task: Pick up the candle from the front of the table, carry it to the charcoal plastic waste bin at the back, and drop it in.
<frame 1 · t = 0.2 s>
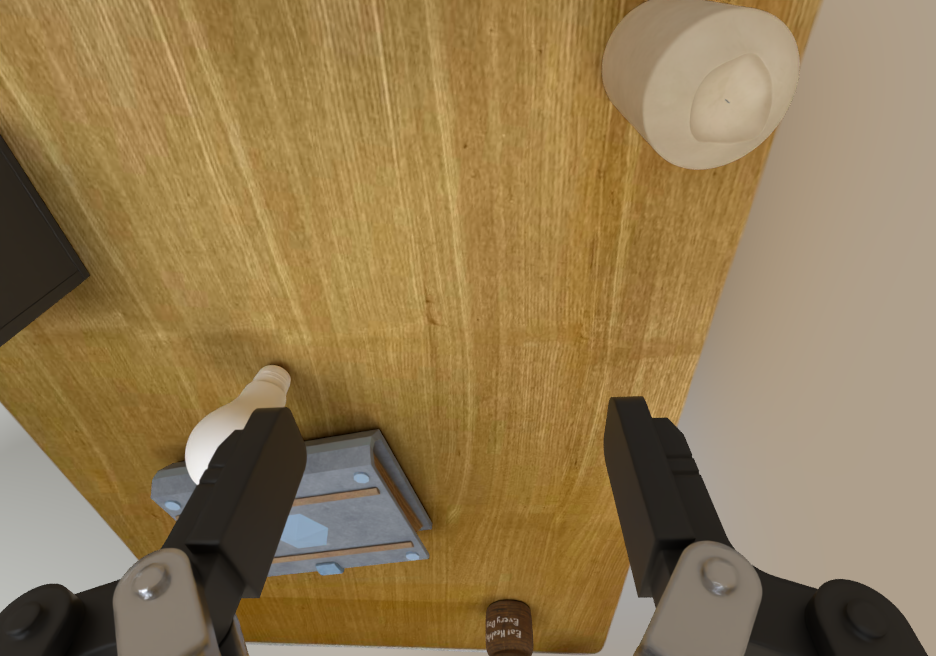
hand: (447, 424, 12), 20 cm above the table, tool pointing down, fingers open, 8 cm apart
candle: (653, 59, 25), on the table
utensil holder: (507, 607, 63), on the table
book: (309, 488, 48), on the table
lightbulb: (279, 368, 39), on the table
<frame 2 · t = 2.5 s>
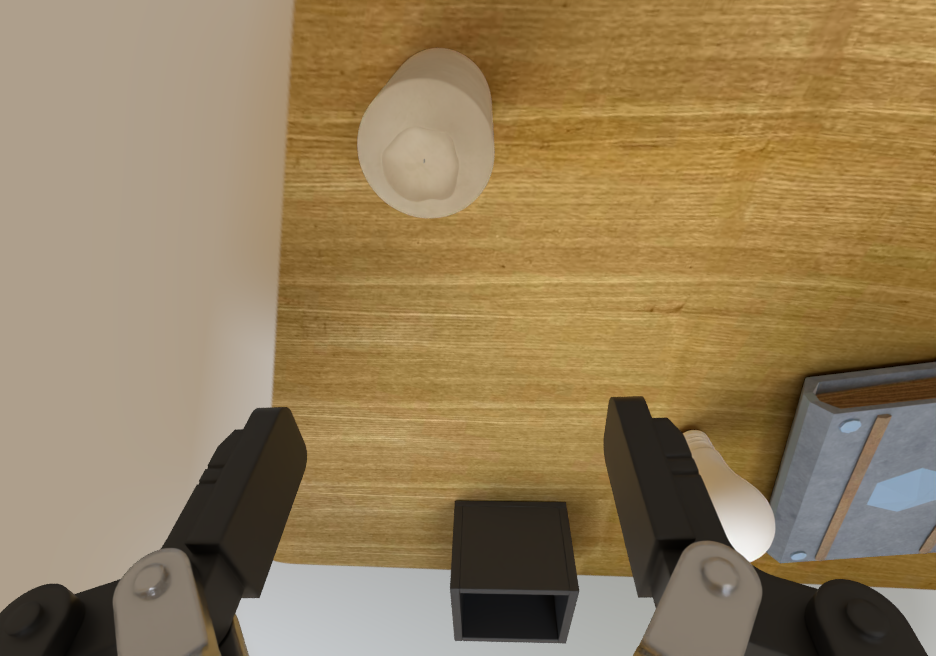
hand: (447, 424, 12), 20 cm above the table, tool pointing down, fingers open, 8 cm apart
candle: (441, 103, 26), on the table
bin: (508, 531, 52), on the table
book: (867, 448, 42), on the table
lightbulb: (688, 431, 42), on the table
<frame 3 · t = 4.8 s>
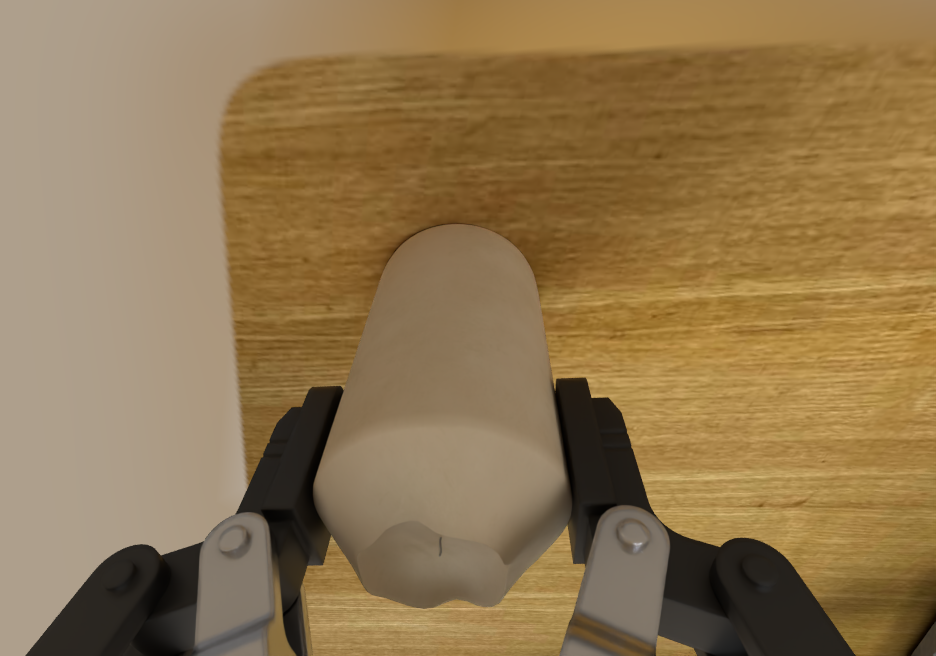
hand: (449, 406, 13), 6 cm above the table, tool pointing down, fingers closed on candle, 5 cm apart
candle: (459, 290, 17), on the table, touching gripper
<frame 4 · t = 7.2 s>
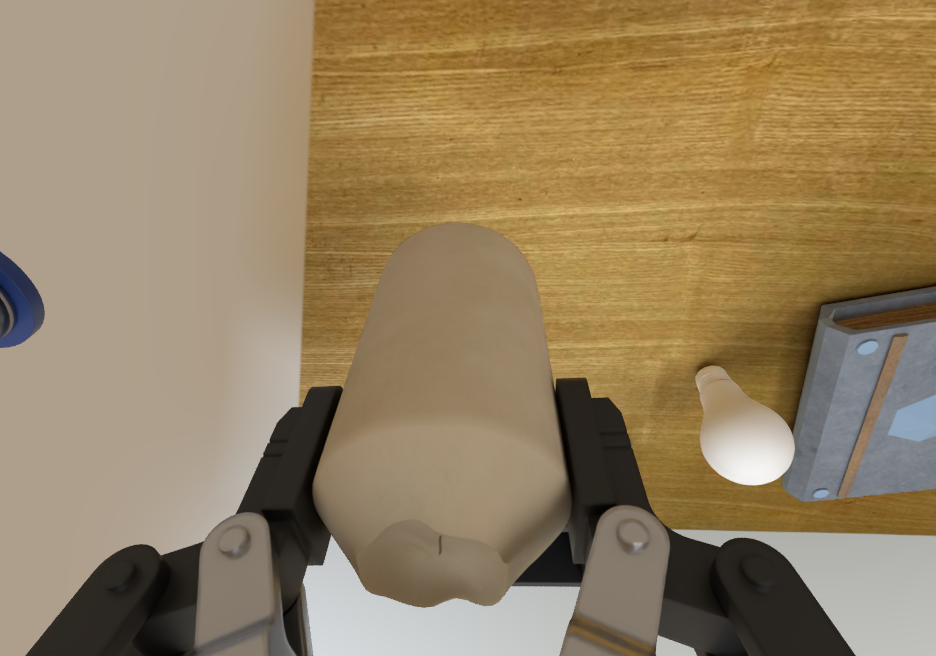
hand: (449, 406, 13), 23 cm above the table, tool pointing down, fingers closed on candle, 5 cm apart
candle: (458, 289, 17), point 17 cm above the table, touching gripper
bin: (531, 481, 53), on the table
book: (887, 381, 43), on the table
lightbulb: (706, 368, 42), on the table
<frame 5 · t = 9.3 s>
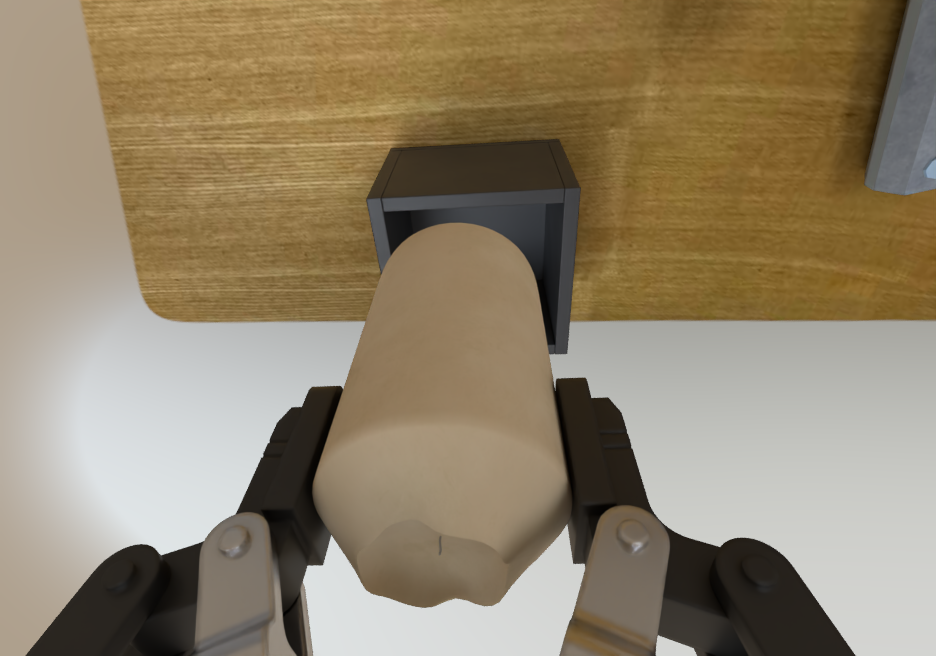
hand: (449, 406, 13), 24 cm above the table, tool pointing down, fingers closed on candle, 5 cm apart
candle: (459, 289, 17), point 18 cm above the table, touching gripper
bin: (478, 221, 35), on the table
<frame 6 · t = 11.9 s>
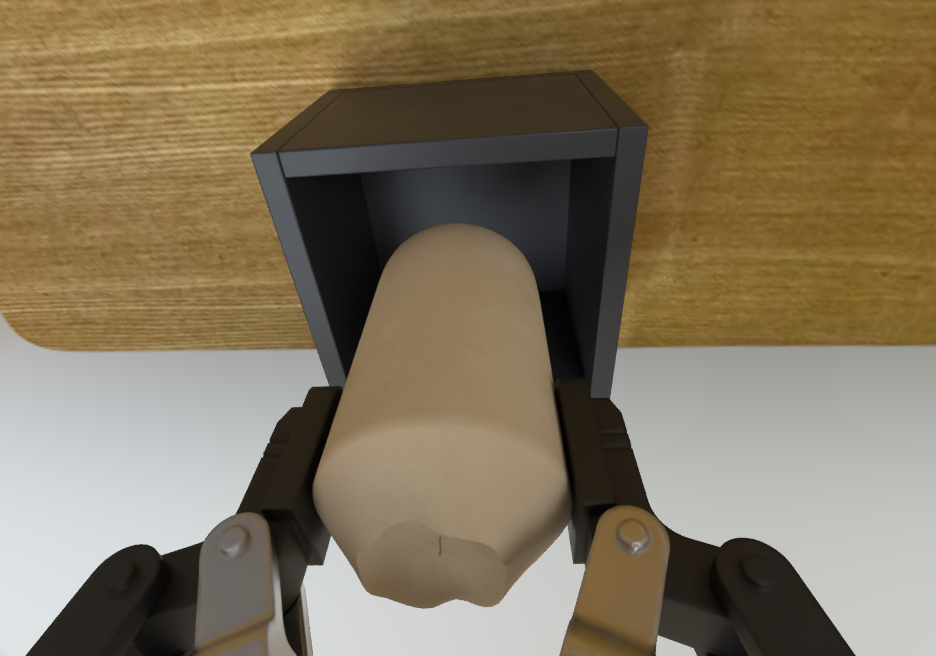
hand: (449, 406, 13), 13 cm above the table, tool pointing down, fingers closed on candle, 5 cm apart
candle: (459, 289, 17), point 8 cm above the table, touching gripper
bin: (467, 206, 23), on the table
when the fingers open (7 cm above the table, at t = 14.1 s): candle drops 1 cm, resting on bin.
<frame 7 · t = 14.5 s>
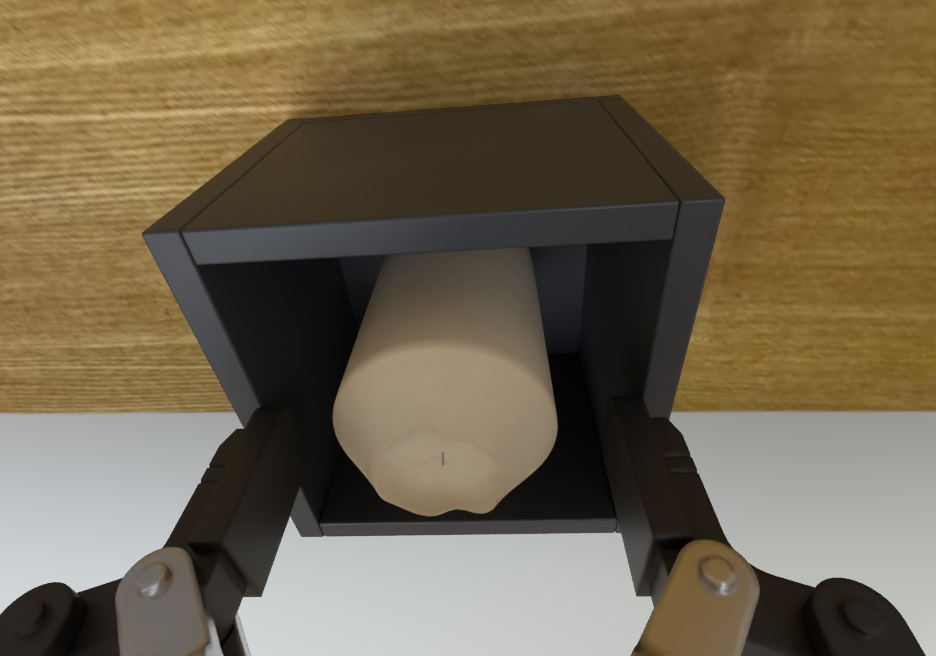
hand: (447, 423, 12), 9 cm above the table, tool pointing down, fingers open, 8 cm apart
candle: (459, 259, 19), resting on bin
bin: (462, 256, 19), on the table
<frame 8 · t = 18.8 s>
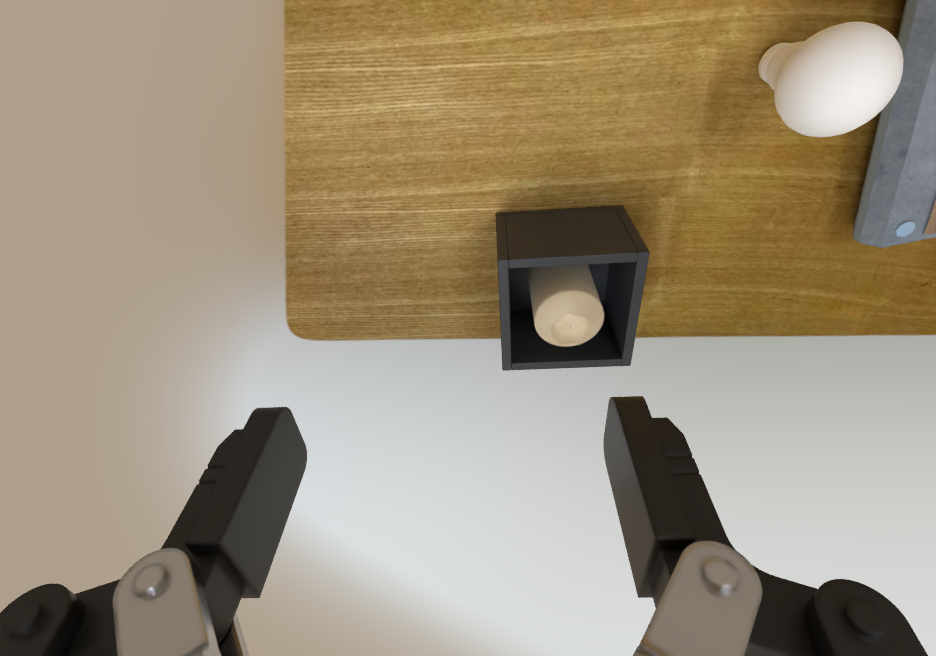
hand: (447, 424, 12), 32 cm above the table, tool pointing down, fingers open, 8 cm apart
candle: (556, 265, 45), resting on bin
bin: (556, 264, 46), on the table
lightbulb: (770, 60, 35), on the table
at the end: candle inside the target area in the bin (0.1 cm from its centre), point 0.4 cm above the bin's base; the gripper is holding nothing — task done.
